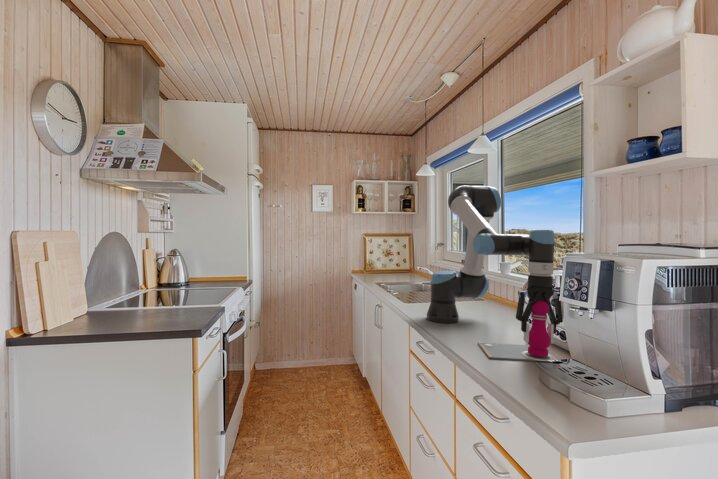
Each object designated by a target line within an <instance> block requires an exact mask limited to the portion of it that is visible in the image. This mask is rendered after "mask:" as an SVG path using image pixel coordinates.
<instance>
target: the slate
mask: <svg viewBox="0 0 718 479" xmlns="http://www.w3.org/2000/svg"><path fill="white" fill-rule="evenodd" d="M477 345H478V347H479V348H480V349H481V350H482V351H483V353H484V354H485V356H486V357H487V358H488V359H489V360H497V361H498V360H501V361H504V360H505V361H520V362H536V361H548V360H558V359H557V358H556V357H554V356H553V355H552V354H550V353H549V352H548V356H546V357H538V356H534V355H531V354H529V353H528V347H529V346H530V345H529V344H515V343H514V344H512V343H511V344H510V343H496V342H495V343H494V342H493V343H492V342H477Z"/></svg>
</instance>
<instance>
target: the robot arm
mask: <svg viewBox="0 0 718 479" xmlns="http://www.w3.org/2000/svg"><path fill="white" fill-rule="evenodd" d="M447 205H448V208H449V210H450V212H451V213H452V214H454V215H455V216H457V217H458V218H459V220H460V221H461V223H463V225H464V226H465V228H466V230H467V231H468V234H467V239H466V240H467V241H466V248H465V256H464V263H463V266H462V267H461V268H460V269H459V273H457V272H456V270H438V271H435V272H433V273H432V275H431V281H430V303H429V306H428V309H427V312H426V319H427V321H430V322H432V323H433V322H434V323H440V324H454V323H458V322H459V321H460V316H459V312H458V309H457V305H456V299H469V298H470V299H478V298H483V297H484V296H485V295H486V294H487V293H488V290H489V286H490V285H489V284H490V283H489V277H488V276H487V275H486V272H485V270H484V269H483V267H484V263H485V262H484V261H485V256H492V255H494V256H527V257H528V268H527V270H528V271H527V272H528V273H529V274H528V275H527V276H528V277H527V288H526V290H518V291H517V294H518V301H517V306H516V314H515V319H516V320H517V321H520V322H521V326H520V330H521V331H522V333H523V341H524V342H525V343H527V344H528V343H529V331H530V323H529V322H528V321H529V318H530V317H531V313H532V307H533V305H534V304H536V302H537V301H545V302H546V303H547V304H548V305H549V312H548V313H547V317H548V318H549V320H550V322H547V333H548V335H549V338H550V345H551V344H552V345H553V344H554V334H556V333H557V326H558V325H559V323H561V324H562V323H563V322H564V317H563V308H562V300H561V301H559V296H560V293H561V292H558V291H554V289H553V287H554V286H553V285H554V283H553V282H554V277H553V276H552V275H553V274H554V259H555V258H554V257H555V243H556V242H555V231H554V230H552V229H545V228H543V229H539V228H537V229H536V228H535V229H534V228H533V229H531V230H530V231H529V234H509V233H508V234H506V233H505V234H504V233H497V232H496V231H495V230H494V229H493V228H492V227H491V225H490V220H492V219H493V218H494V216H495V213H497V212H499V211H500V209H501V207H502V197H501V193H500V191H499V190H498V189H497V187H495V186H487V185H467V184H466V185H465V184H464V185H460V186H457V187H456V188H454V189H453V190H452V191H451V192H450V194H449V196H448V198H447ZM527 295H528V296H529V298H528V300H527V304H526V298H527ZM552 297H553V302H554V303H553V304H554V309H553V307H552V302H551V300H550V299H551V298H552ZM525 304H526V307H525ZM524 308H525V309H524Z"/></svg>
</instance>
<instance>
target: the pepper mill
mask: <svg viewBox="0 0 718 479" xmlns="http://www.w3.org/2000/svg"><path fill="white" fill-rule="evenodd" d="M548 312H549V305H548V304H547V303H546V302H545V301H537V302H536V304H534V305H533V307H532V312H531V314H530V318H531V320H532V321H531V322H532V325H531V328H529V343H527V345H530V346H529V347H528V353H529V354H531V355H534V356H538V357H546V356H548V353H549V349H548V348H549V347H550V346H551V344H550V338H549V335H548V329H547V327H546V326H547V325H546V324H547V320H548Z"/></svg>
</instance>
